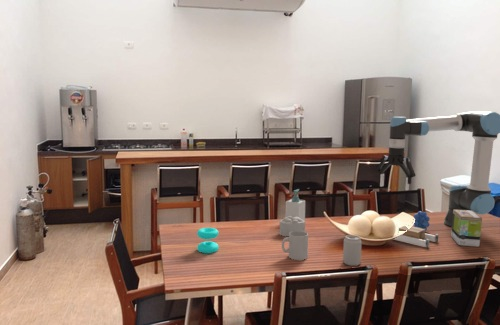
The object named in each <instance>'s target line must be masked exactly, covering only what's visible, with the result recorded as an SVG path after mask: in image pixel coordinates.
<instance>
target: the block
mask: <svg viewBox="0 0 500 325" xmlns="http://www.w3.org/2000/svg"><path fill="white" fill-rule="evenodd" d="M411 226H412V225H411ZM406 230H407V232H405V233H404V234H403V235H404V236H409V237H413V238H417V239H422V240H425V233H426V231H425V229H422V228H417V227H414V225H413V226H412V227H411V228H410V229H408V228H407V227H406V226H405V225H404V226H401V227H398V232H399V231H406Z"/></svg>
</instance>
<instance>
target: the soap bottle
mask: <svg viewBox="0 0 500 325" xmlns="http://www.w3.org/2000/svg"><path fill="white" fill-rule="evenodd" d="M299 191H300V188H297V189H294V190H293V193H294V195H293V196H292V198H290V199H288V200H286V201H285V210H284V211H285V215H284V218H286V217H288V216H291V217H292V218H294V217H299V218H301V219H302V220H304V221H305V222H306V200H305V199H300V198H299V196H298V192H299Z"/></svg>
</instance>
